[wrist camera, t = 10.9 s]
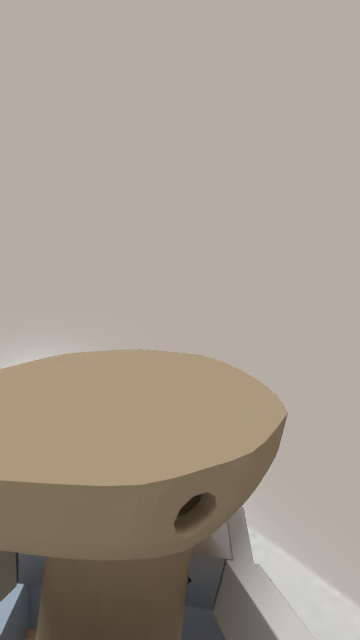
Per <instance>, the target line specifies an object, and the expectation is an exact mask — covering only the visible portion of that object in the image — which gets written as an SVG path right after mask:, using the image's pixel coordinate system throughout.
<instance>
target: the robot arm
mask: <svg viewBox="0 0 360 640" xmlns="http://www.w3.org/2000/svg"><path fill="white" fill-rule="evenodd" d="M44 564H45V556H38V555H30V554H23V553H16V552H9V551H3V550H0V602H1V601H2V600H3V599H4V598H5V597H6V596H7V595H8V594H9V593H10V592H11V591H12V590H13V589H14V588H15V587H16V586H17V584H27V585H36V586H42V583H43V574H44ZM185 605H186V606H192V607H197V608H203V609H209V610H213V614H214V616H215V618H216V620H217V622H218V625H219V627H220V629H221V631H222V633H223V635H224V637H225V639H226V640H316V639H315V638H314V637H313V635H312V634H311V633H310V631H309V630H308V629H307V627H306V626H305V625H304V623H303V622H302V621H301V619H300V618H299V617H298V615H297V614H296V613H295V611H294V610H293V609H292V607H291V606H290V605H289V603H288V602H287V601H286V599H285V598H284V597H283V595H282V594H281V593H280V591H279V590H278V589H277V587H276V586H275V585H274V583H273V582H272V581H271V579H270V578H269V577H268V575H267V574H266V573H265V571H264V570H263V569H262V567H261V566H260V565H259V564H254V562H253V557H252V551H251V546H250V540H249V535H248V529H247V524H246V518H245V513H244V509H243V507H242V506H241V507H240V508H239V509H238V510H237V511H236V513H235V514H234V515H233V516H232V517H231V518H230V519H229V520H228V521H227V522H225V523H224V524H223V525H222V526H221V527H220V528H219V529H218V530H217V531H216V532H214V533H213V534H212V535H211V536H209V537H208V538H206V539H205V540H203V541H201V542H200V543H198V544H197V545H195V546H193V548H192V553H191V561H190V569H189V578H188V585H187V593H186V601H185Z"/></svg>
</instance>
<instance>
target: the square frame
mask: <svg viewBox="0 0 360 640" xmlns="http://www.w3.org/2000/svg"><path fill="white" fill-rule="evenodd" d="M41 592H42V586H36V585H27V584H17V586H16V587H15V588H14V589H13V590H12V591H11V592H10V593H9V594H8V595H7V596H6V597H5V598H4V599H3V600H2V601H1V602H0V640H25V637H26V635H27V632H28V630H29V629H36V630H37V625H38V617H39V610H40V601H41ZM181 640H226V639H225V637H224V635H223V633H222V631H221V629H220V627H219V625H218V622H217V620H216V618H215V616H214V614H213V610H209V609H203V608H197V607H192V606H186V605H185V609H184V617H183V626H182V636H181Z"/></svg>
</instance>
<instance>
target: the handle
mask: <svg viewBox="0 0 360 640" xmlns="http://www.w3.org/2000/svg"><path fill="white" fill-rule="evenodd" d="M287 414H288V413H287V411H286V409H285V407H284V405H283V403H282V402H281V401H280V399H279V398H278V397H277V396H276V395H275V394H274V393H273V392H272V391H271V390H270V389H269V388H268V387H266V386H265V385H264V384H262V383H261V382H259V381H258V380H256V379H255V378H254V377H252V376H250V375H248V374H247V373H245V372H243V371H241V370H239V369H237V368H235V367H233V366H231V365H229V364H227V363H224V362H221V361H218V360H215V359H212V358H209V357H205V356H202V355H194V354H184V353H176V352H165V351H155V350H154V351H153V350H111V351H96V352H81V353H71V354H64V355H58V356H53V357H48V358H43V359H39V360H35V361H31V362H27V363H23V364H19V365H15V366H12V367H8V368H4V369H0V550H3V551H9V552H16V553H23V554H30V555H38V556H45V564H44V574H43V583H42V592H41V601H40V610H39V617H38V625H37V632H36V639H35V640H181V636H182V626H183V617H184V609H185V601H186V593H187V585H188V578H189V569H190V561H191V553H192V548H193V546H195V545H197V544H198V543H200V542H201V541H203V540H205V539H206V538H208V537H209V536H211V535H212V534H213V533H214V532H216V531H217V530H218V529H219V528H220V527H221V526H222V525H223V524H224V523H225V522H227V521H228V520H229V519H230V518H231V517H232V516H233V515H234V514H235V513H236V511H237V510H238V509H239V508H240V507H241V506H242V505H243V504H244V503H245V502H246V501H247V499H248V498H249V497H250V496H251V494H252V493H253V492H254V490H255V489H256V488H257V486H258V485H259V483H260V482H261V480H262V478H263V477H264V475H265V474H266V472H267V471H268V469H269V467H270V465H271V464H272V462H273V460H274V458H275V456H276V454H277V451H278V448H279V445H280V441H281V437H282V434H283V429H284V426H285V421H286V418H287Z"/></svg>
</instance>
